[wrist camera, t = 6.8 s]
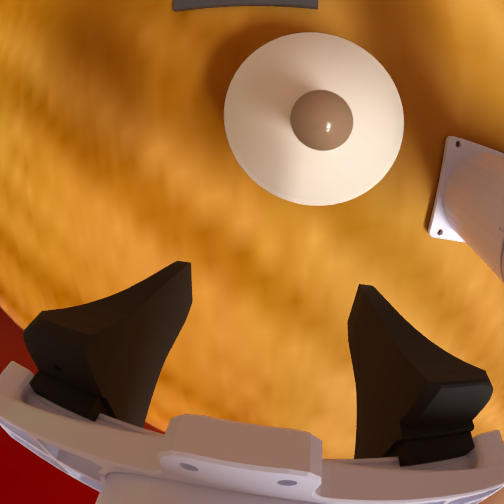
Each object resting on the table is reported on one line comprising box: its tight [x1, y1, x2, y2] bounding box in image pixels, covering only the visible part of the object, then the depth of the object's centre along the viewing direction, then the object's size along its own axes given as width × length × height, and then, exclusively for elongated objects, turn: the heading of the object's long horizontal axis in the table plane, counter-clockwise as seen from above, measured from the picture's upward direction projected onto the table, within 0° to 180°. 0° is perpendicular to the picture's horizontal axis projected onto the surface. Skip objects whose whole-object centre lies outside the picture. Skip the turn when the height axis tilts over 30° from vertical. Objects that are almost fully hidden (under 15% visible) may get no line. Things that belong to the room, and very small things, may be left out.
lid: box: [224, 32, 404, 206], centre depth 13 cm, size 10×10×5 cm
